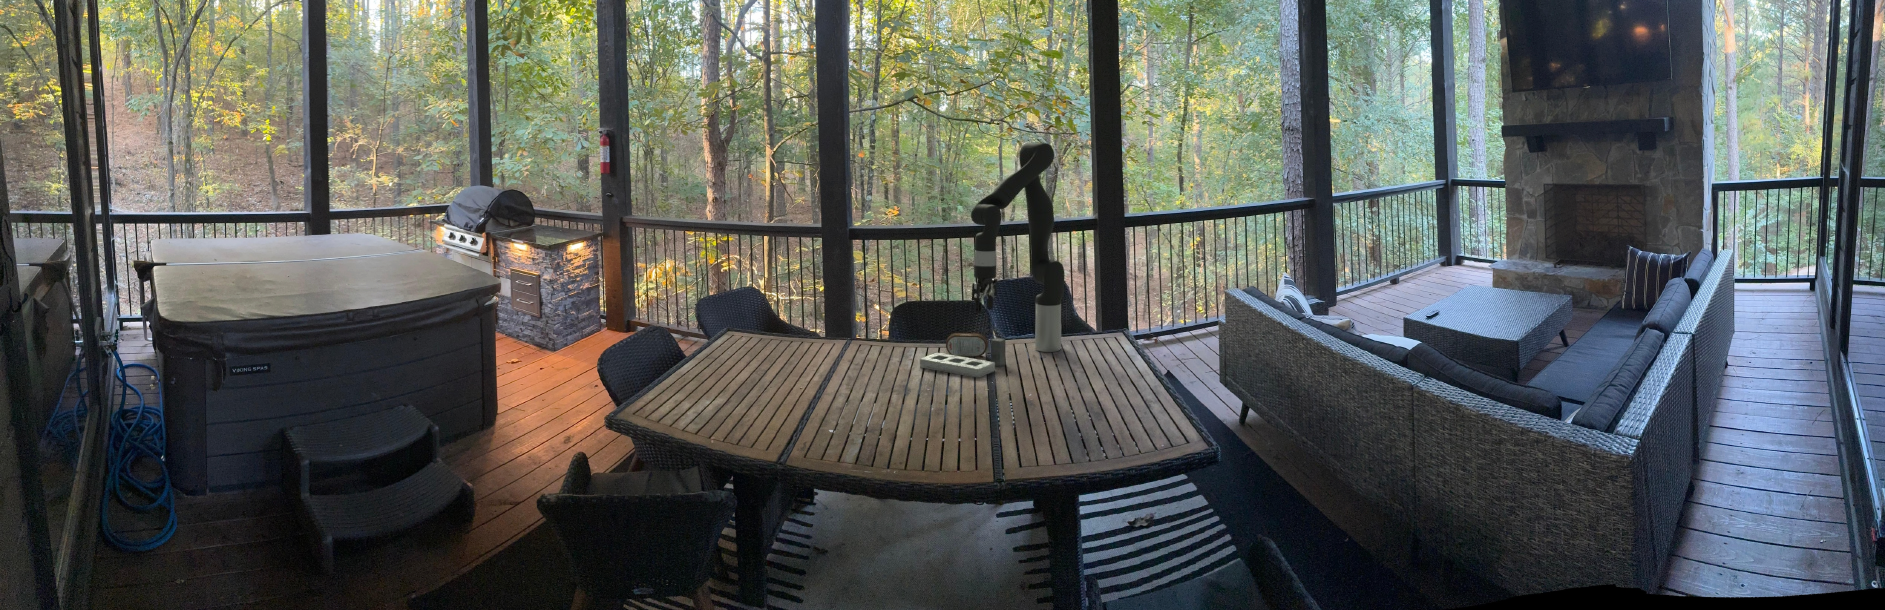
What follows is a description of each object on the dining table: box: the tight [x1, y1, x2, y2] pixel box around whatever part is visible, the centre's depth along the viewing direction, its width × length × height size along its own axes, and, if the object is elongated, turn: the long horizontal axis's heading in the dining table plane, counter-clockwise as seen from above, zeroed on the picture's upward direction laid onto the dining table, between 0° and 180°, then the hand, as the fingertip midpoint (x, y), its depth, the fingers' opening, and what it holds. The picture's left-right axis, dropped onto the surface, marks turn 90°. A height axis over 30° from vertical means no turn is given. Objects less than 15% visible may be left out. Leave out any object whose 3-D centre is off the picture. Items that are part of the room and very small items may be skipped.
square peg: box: [990, 337, 1006, 368], centre depth 312 cm, size 4×4×9 cm
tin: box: [945, 332, 989, 358], centre depth 324 cm, size 15×3×8 cm, turn 84°
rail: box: [919, 352, 996, 379], centre depth 308 cm, size 10×24×3 cm, turn 54°
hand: (984, 311), depth 308 cm, fingers open, 8 cm apart
